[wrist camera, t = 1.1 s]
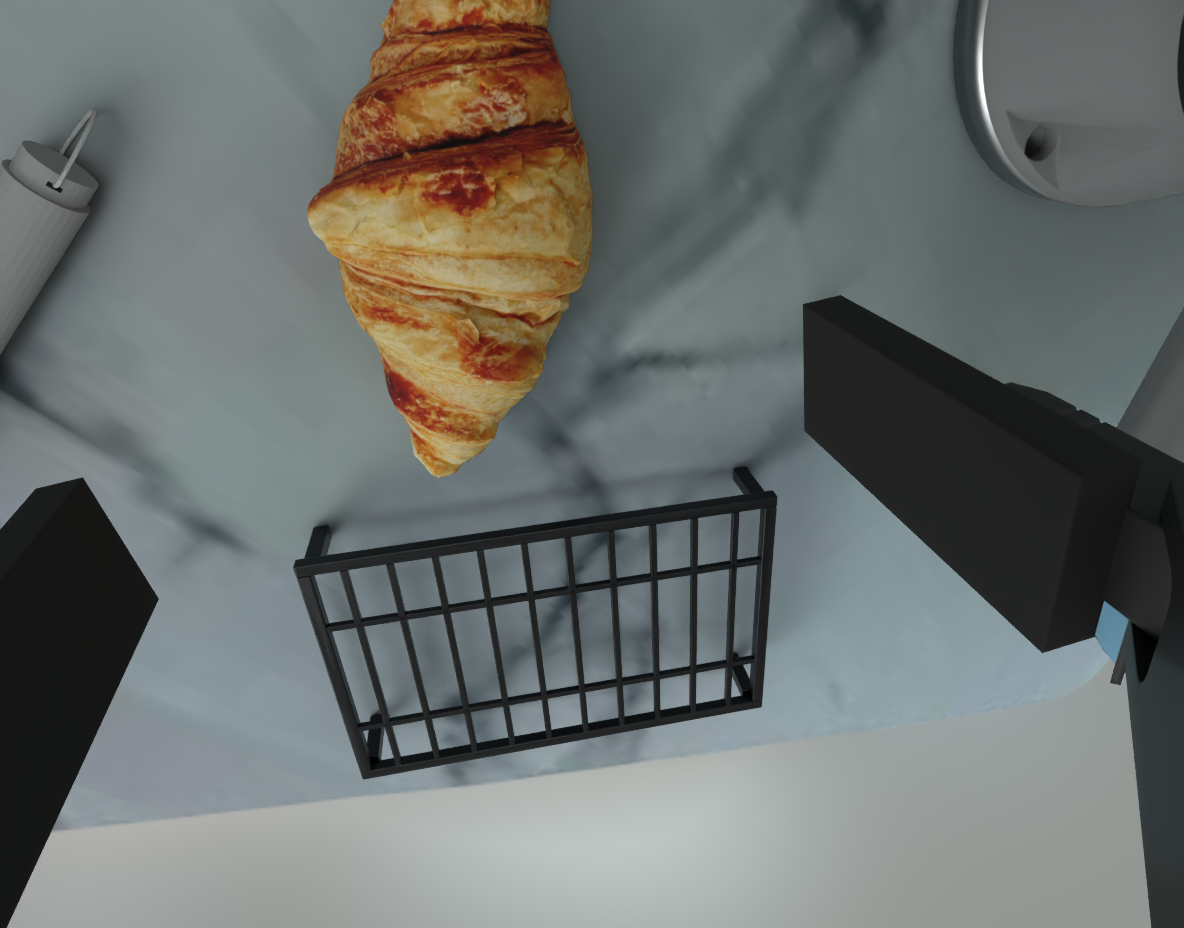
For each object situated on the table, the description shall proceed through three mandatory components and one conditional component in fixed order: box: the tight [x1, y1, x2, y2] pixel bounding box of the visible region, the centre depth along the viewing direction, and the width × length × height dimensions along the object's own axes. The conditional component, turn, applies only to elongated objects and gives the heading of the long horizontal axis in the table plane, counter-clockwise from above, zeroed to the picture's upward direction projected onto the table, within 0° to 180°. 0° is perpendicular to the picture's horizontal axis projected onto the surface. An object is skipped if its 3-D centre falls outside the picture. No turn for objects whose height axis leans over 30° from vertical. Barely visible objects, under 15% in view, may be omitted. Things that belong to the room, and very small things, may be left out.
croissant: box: [308, 0, 593, 478], centre depth 27 cm, size 21×10×8 cm, turn 172°
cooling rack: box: [293, 467, 777, 779], centre depth 37 cm, size 22×14×4 cm, turn 94°
